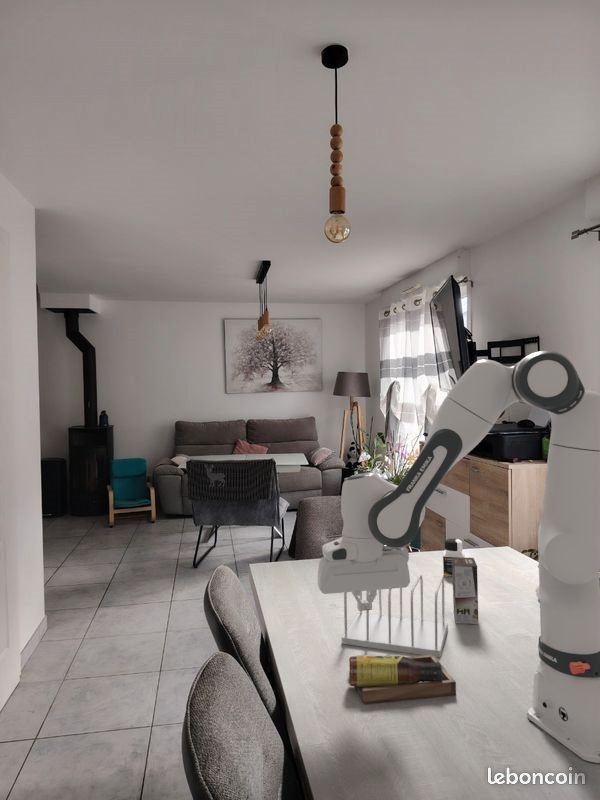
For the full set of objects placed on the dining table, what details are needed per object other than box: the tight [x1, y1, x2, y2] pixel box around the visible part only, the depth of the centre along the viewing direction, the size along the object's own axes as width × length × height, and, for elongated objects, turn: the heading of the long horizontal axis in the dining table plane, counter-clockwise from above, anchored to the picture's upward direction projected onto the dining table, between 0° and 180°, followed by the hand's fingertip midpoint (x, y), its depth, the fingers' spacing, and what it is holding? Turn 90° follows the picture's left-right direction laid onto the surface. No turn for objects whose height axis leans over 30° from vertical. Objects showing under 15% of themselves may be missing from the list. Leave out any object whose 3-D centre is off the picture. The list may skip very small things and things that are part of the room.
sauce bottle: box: [348, 655, 442, 687], centre depth 123 cm, size 6×6×20 cm
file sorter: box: [341, 574, 449, 658], centre depth 149 cm, size 25×17×16 cm
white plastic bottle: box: [442, 538, 465, 577], centre depth 201 cm, size 7×7×12 cm
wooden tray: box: [355, 655, 457, 705], centre depth 125 cm, size 13×20×3 cm, turn 98°
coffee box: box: [452, 557, 479, 625], centre depth 161 cm, size 9×6×16 cm
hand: (364, 609), depth 124 cm, fingers closed
